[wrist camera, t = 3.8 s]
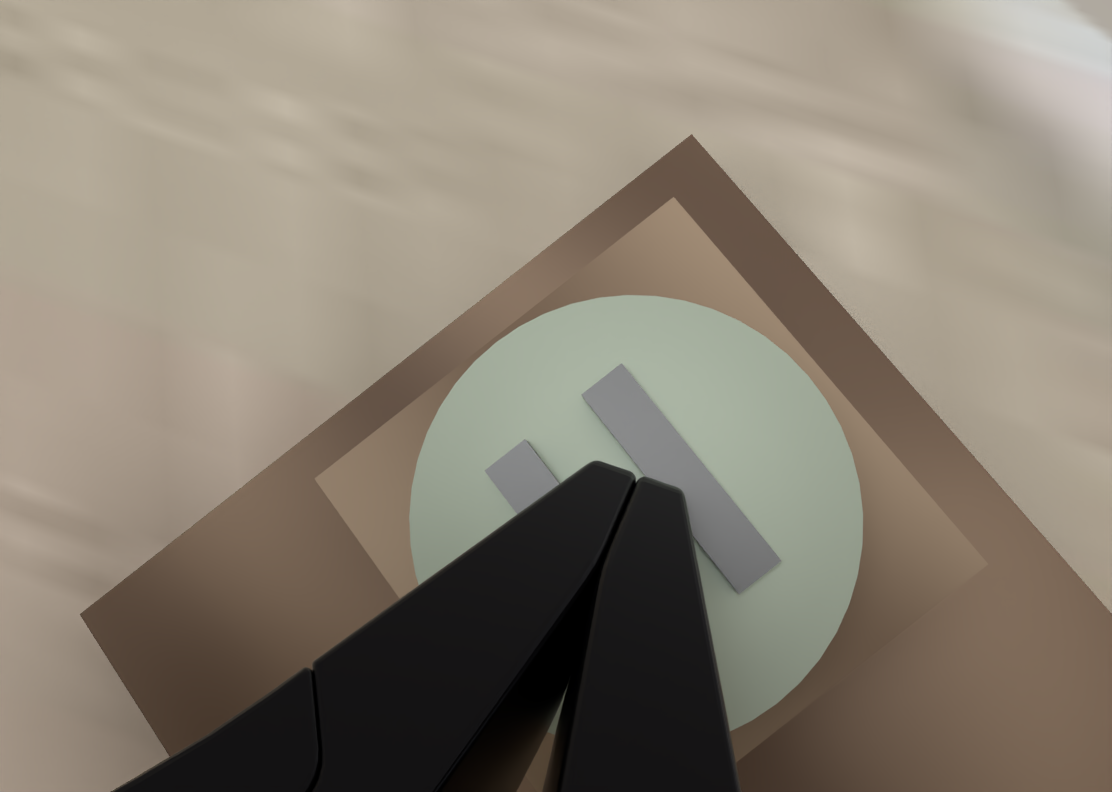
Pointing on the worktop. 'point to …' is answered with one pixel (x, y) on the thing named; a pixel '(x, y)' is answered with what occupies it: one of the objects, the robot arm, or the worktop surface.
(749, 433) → the button
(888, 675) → the console
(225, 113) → the worktop surface
